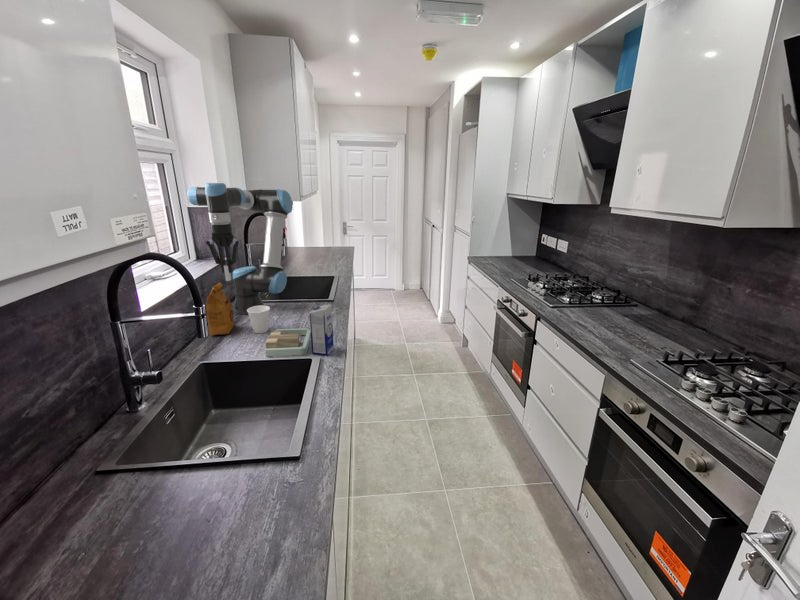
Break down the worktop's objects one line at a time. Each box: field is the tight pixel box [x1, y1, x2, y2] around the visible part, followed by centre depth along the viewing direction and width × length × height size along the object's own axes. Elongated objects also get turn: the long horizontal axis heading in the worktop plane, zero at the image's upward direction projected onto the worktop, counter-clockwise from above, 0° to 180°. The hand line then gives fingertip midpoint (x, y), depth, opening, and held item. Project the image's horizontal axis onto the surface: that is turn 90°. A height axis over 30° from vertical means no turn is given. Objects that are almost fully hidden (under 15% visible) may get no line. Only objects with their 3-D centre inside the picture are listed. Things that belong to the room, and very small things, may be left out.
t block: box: [265, 330, 300, 350], centre depth 151 cm, size 12×12×4 cm
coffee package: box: [205, 282, 235, 337], centre depth 161 cm, size 10×12×22 cm
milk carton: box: [308, 304, 335, 357], centre depth 143 cm, size 7×7×20 cm
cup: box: [247, 305, 271, 335], centre depth 164 cm, size 10×10×11 cm
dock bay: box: [265, 327, 311, 357], centre depth 152 cm, size 21×16×3 cm
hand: (228, 280), depth 150 cm, fingers closed
